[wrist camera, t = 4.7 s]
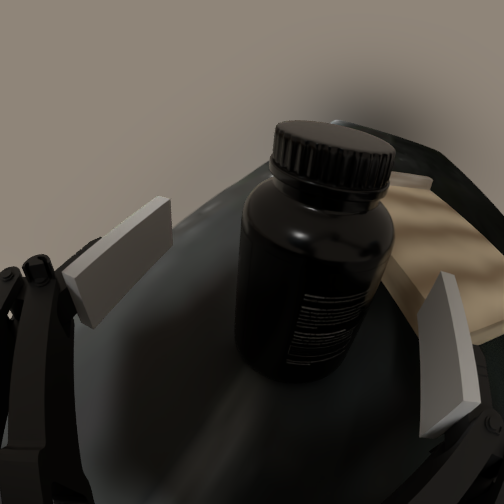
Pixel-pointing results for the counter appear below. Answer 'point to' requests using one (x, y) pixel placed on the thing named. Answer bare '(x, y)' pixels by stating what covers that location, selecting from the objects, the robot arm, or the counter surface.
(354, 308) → the supplement bottle
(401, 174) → the shelf board
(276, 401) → the counter surface
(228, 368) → the counter surface
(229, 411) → the counter surface
